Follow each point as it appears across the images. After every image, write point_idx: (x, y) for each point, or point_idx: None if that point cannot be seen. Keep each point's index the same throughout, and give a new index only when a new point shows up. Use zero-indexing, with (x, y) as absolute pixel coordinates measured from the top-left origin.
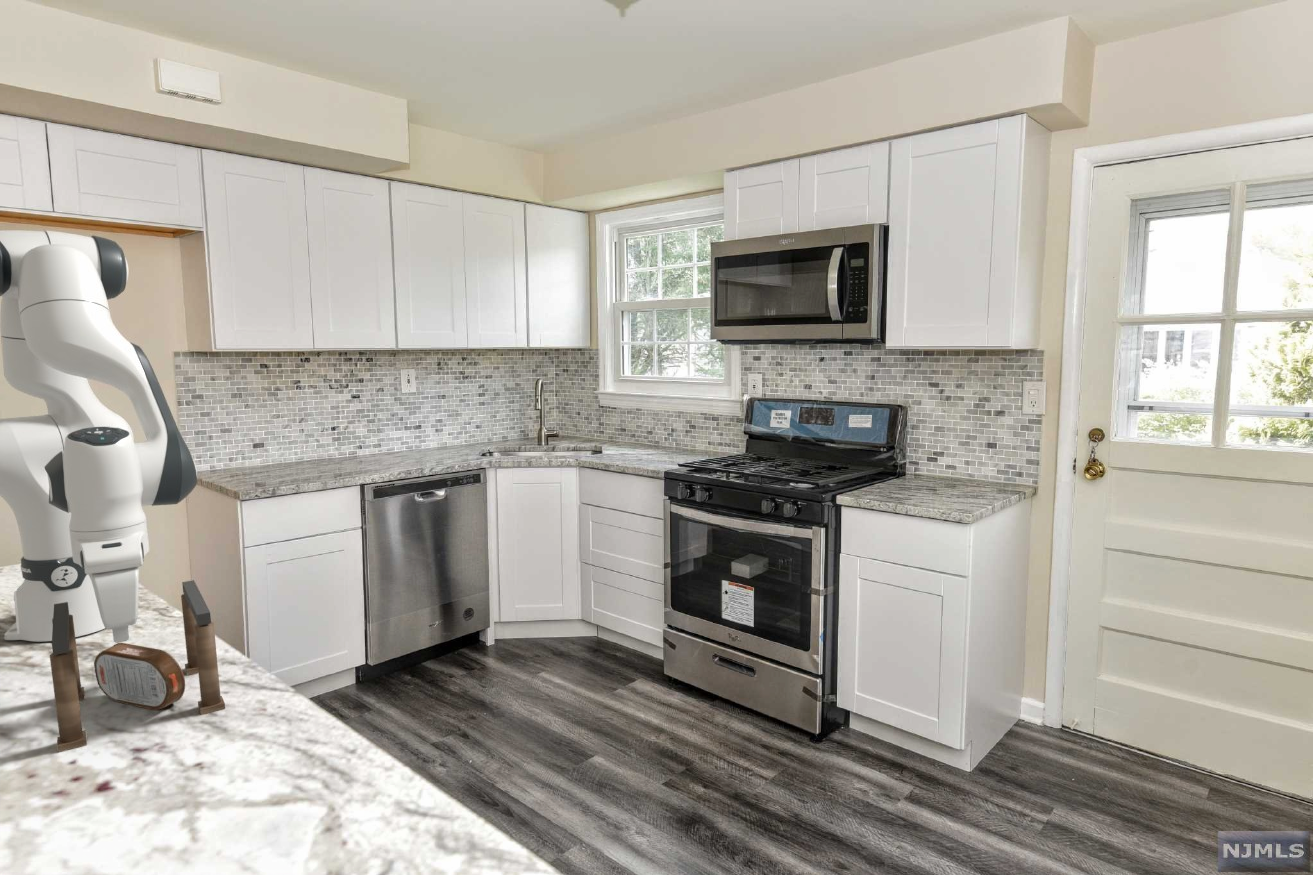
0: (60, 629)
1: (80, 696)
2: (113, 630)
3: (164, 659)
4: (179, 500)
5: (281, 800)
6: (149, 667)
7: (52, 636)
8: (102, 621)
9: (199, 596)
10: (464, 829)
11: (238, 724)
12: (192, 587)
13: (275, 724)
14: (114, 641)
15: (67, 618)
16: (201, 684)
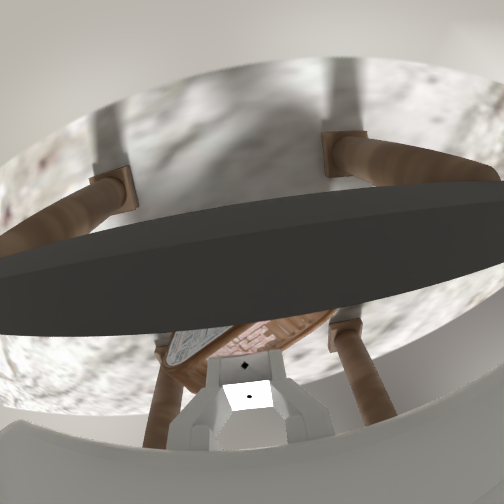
0: (32, 308)
1: (328, 170)
2: (201, 392)
3: (183, 384)
4: None
5: (11, 365)
6: (184, 355)
7: None
8: (2, 432)
9: None
10: (10, 404)
11: (118, 372)
12: None
13: (112, 392)
14: (209, 358)
15: (237, 324)
16: (158, 382)
